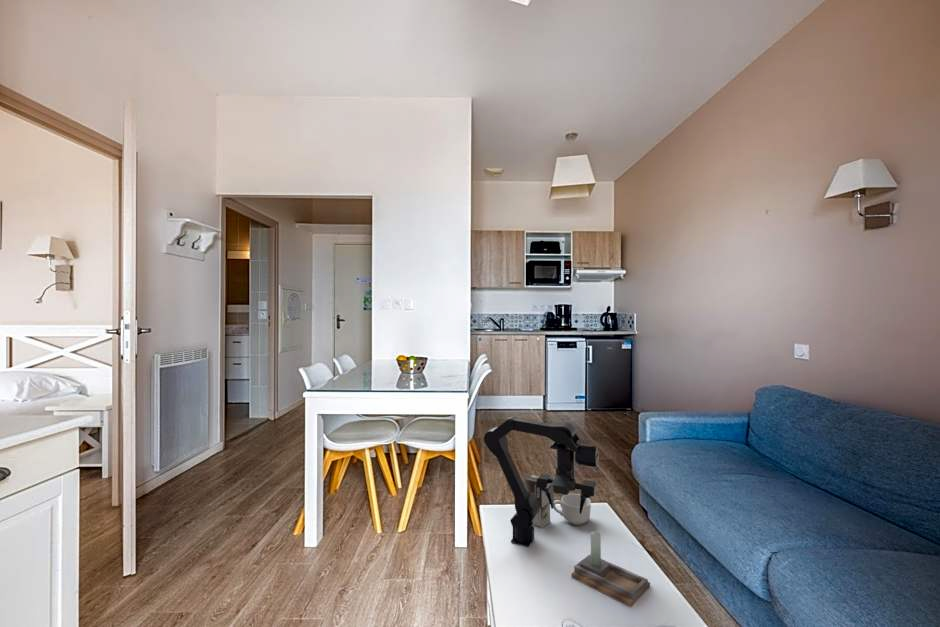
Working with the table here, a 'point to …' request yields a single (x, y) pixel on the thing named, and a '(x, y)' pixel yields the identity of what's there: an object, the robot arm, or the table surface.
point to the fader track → (614, 582)
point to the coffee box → (544, 505)
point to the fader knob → (596, 557)
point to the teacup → (573, 509)
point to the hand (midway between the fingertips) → (566, 510)
